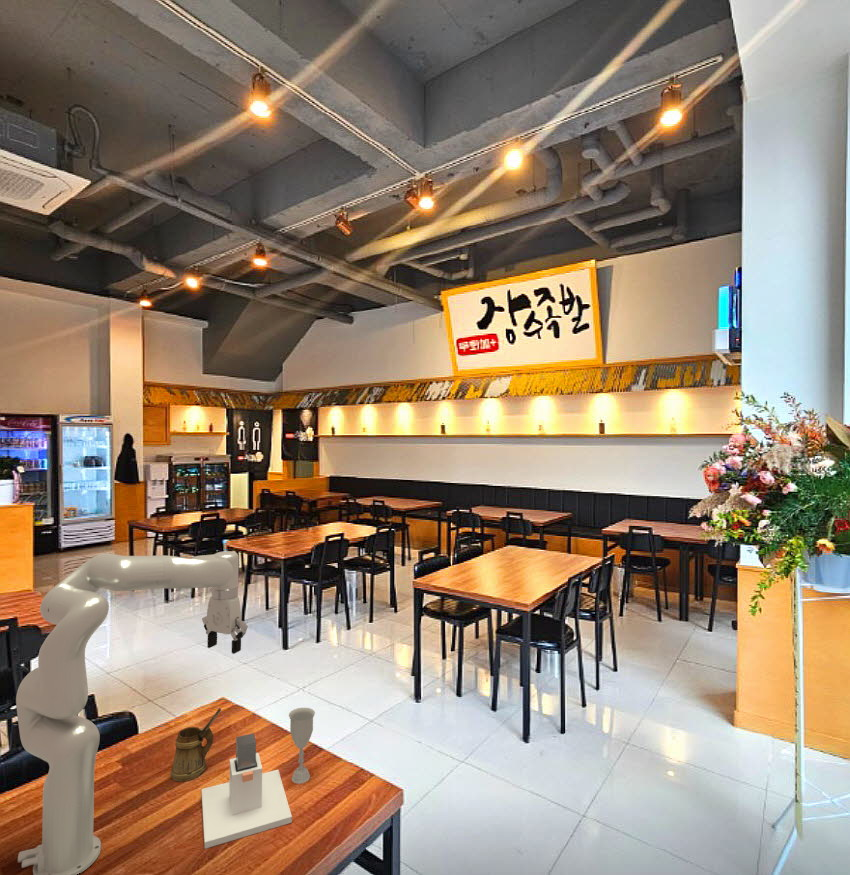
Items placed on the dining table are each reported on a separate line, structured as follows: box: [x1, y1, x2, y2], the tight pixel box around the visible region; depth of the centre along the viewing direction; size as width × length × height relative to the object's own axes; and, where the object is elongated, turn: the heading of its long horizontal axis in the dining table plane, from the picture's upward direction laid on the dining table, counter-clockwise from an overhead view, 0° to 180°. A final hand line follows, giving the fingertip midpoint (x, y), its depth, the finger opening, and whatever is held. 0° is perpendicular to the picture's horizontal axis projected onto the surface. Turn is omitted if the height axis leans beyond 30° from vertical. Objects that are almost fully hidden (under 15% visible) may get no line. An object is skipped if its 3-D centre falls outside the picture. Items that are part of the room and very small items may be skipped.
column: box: [235, 733, 257, 772], centre depth 133 cm, size 4×4×16 cm
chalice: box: [288, 707, 316, 785], centre depth 145 cm, size 7×7×18 cm
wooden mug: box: [170, 707, 222, 783], centre depth 147 cm, size 9×14×18 cm, turn 92°
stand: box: [201, 752, 293, 849], centre depth 133 cm, size 20×20×12 cm
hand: (224, 649), depth 157 cm, fingers open, 9 cm apart
